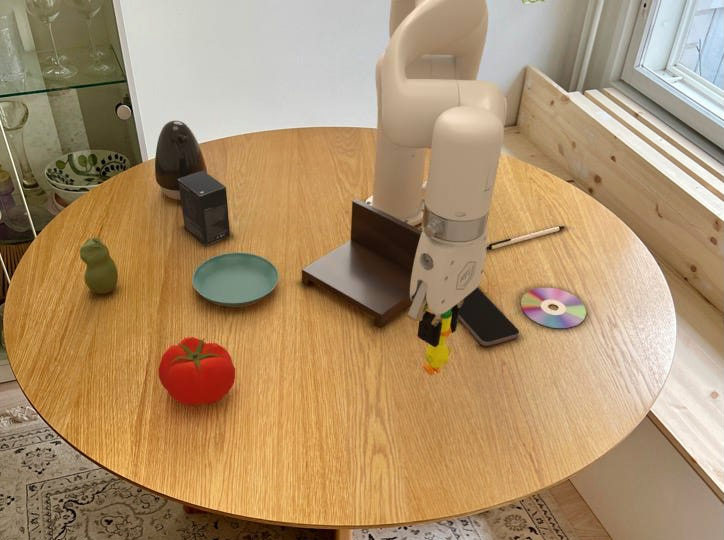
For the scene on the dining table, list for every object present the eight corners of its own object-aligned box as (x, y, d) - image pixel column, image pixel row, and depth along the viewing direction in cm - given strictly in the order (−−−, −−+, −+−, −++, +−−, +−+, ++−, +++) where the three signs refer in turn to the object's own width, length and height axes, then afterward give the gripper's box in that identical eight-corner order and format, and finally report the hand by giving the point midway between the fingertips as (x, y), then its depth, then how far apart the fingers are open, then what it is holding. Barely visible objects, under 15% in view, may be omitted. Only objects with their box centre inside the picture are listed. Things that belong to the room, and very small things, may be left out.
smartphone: (475, 283, 133) (522, 333, 122) (474, 289, 133) (521, 338, 123) (438, 292, 130) (483, 343, 120) (438, 298, 131) (482, 349, 121)
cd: (555, 280, 135) (555, 280, 135) (600, 315, 128) (600, 315, 128) (507, 299, 130) (507, 299, 130) (551, 336, 124) (551, 336, 124)
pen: (482, 249, 142) (483, 244, 141) (563, 227, 148) (564, 222, 147) (485, 252, 141) (485, 247, 140) (566, 229, 148) (567, 224, 147)
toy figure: (406, 359, 107) (414, 292, 98) (426, 350, 108) (436, 284, 99) (435, 388, 103) (447, 322, 94) (456, 378, 104) (469, 312, 96)
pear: (109, 302, 127) (97, 253, 120) (81, 296, 128) (68, 246, 121) (126, 283, 130) (115, 234, 123) (98, 277, 131) (86, 228, 124)
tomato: (241, 413, 109) (236, 370, 103) (164, 423, 107) (155, 380, 101) (233, 364, 117) (229, 321, 111) (161, 373, 115) (153, 329, 109)
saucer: (295, 279, 133) (294, 267, 131) (248, 326, 123) (247, 313, 122) (225, 255, 137) (224, 242, 136) (176, 297, 128) (174, 285, 126)
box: (231, 236, 142) (226, 186, 134) (205, 246, 139) (199, 196, 132) (209, 218, 146) (203, 168, 139) (183, 228, 143) (176, 177, 136)
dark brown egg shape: (169, 212, 147) (158, 139, 137) (151, 187, 154) (139, 116, 143) (217, 199, 151) (210, 128, 140) (198, 176, 157) (190, 106, 147)
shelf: (354, 250, 140) (356, 198, 132) (431, 291, 132) (438, 238, 124) (301, 283, 132) (301, 229, 124) (380, 329, 124) (384, 274, 116)
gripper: (438, 260, 82) (421, 379, 95) (520, 202, 90) (493, 318, 104) (385, 233, 85) (375, 351, 98) (469, 179, 94) (449, 294, 107)
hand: (436, 333), depth 101 cm, fingers closed on toy figure, 3 cm apart
